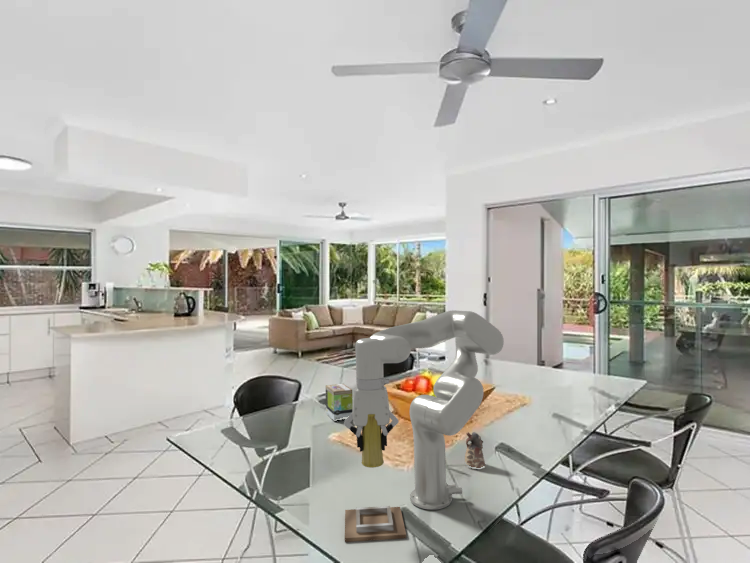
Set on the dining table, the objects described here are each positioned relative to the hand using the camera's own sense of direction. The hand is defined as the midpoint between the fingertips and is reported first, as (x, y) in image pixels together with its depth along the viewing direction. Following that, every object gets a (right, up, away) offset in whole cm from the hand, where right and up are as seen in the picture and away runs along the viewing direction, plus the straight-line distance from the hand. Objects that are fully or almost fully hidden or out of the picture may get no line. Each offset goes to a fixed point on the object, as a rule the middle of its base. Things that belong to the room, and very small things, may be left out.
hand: (372, 448), depth 121 cm
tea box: (-17, -21, +97) cm, 101 cm away
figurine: (+37, -20, +36) cm, 55 cm away
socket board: (+1, -21, 0) cm, 21 cm away
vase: (0, -4, 0) cm, 4 cm away
